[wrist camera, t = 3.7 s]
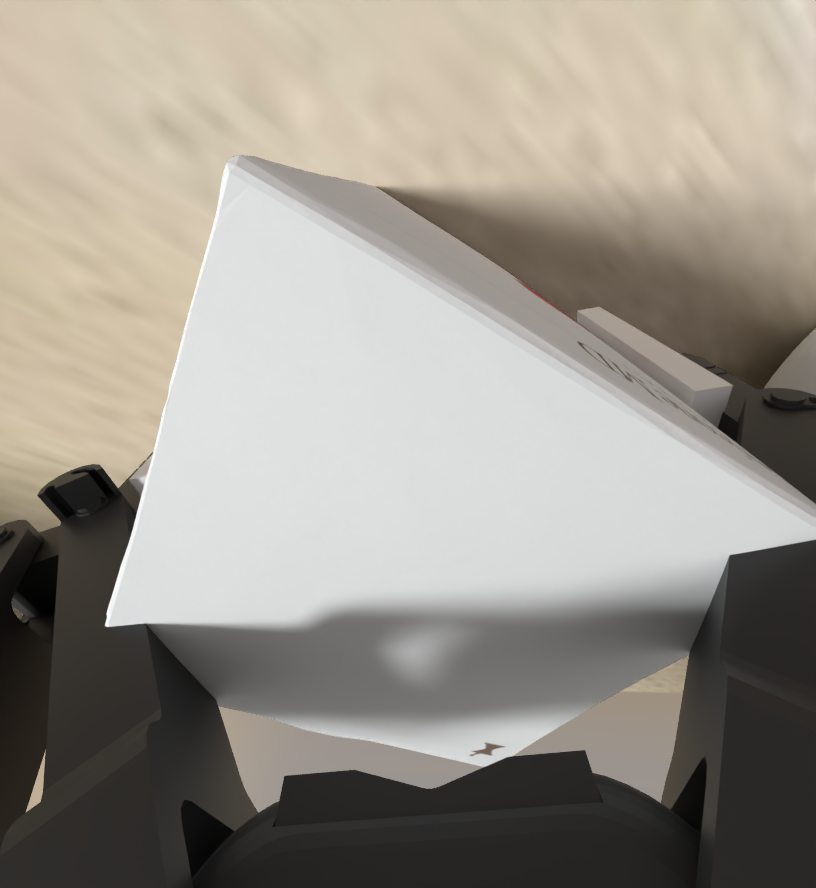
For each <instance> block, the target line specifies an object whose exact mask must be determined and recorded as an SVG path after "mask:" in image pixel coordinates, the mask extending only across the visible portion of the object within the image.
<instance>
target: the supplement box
mask: <svg viewBox="0 0 816 888" xmlns="http://www.w3.org/2000/svg"><path fill="white" fill-rule="evenodd" d="M810 540H816V504H815V503H814V502H812V501H811V500H810V499H808V498H807V497H806V496H805V495H803V494H802V493H801V492H799V491H798V490H797V489H796V488H794V487H793V486H792V485H790V484H789V483H788V482H787V481H786V480H784V479H783V478H782V477H780V476H779V475H778V474H776V473H775V472H774V471H772V470H771V469H770V468H768V467H767V466H766V465H765V464H763V463H762V462H761V461H759V460H758V459H757V458H755V457H754V456H753V455H752V454H750V453H749V452H748V451H746V450H745V449H744V448H742V447H741V446H740V445H739V444H737V443H736V442H735V441H733V440H732V439H731V438H729V437H728V436H727V435H726V434H724V433H723V432H722V431H720V430H719V429H718V428H716V427H715V426H714V425H713V424H711V423H710V422H709V421H707V420H706V419H705V418H703V417H702V416H701V415H700V414H698V413H697V412H696V411H694V410H693V409H692V408H690V407H689V406H688V405H687V404H685V403H684V402H683V401H681V400H680V399H679V398H677V397H676V396H675V395H673V394H672V393H671V392H669V391H668V390H667V389H665V388H664V387H663V386H661V385H660V384H659V383H657V382H656V381H655V380H653V379H652V378H651V377H649V376H648V375H647V374H645V373H644V372H643V371H641V370H640V369H639V368H638V367H636V366H635V365H634V364H632V363H631V362H630V361H628V360H627V359H626V358H624V357H623V356H622V355H620V354H619V353H618V352H616V351H615V350H614V349H612V348H611V347H610V346H608V345H607V344H606V343H604V342H603V341H602V340H601V339H599V338H598V337H597V336H595V335H594V334H593V333H591V332H590V331H589V330H587V329H586V328H585V327H583V326H582V325H580V324H579V323H578V322H576V321H575V320H574V319H572V318H571V317H569V316H568V315H567V314H565V313H564V312H562V311H561V310H560V309H558V308H557V307H556V306H554V305H553V304H552V303H550V302H549V301H548V300H546V299H545V298H543V297H542V296H541V295H539V294H538V293H537V292H535V291H534V290H532V289H531V288H530V287H528V286H527V285H525V284H524V283H523V282H521V281H520V280H518V279H517V278H515V277H514V276H513V275H511V274H510V273H508V272H507V271H505V270H504V269H502V268H501V267H499V266H498V265H496V264H495V263H493V262H492V261H490V260H489V259H487V258H486V257H484V256H483V255H481V254H480V253H478V252H477V251H475V250H474V249H472V248H470V247H469V246H467V245H466V244H464V243H463V242H461V241H460V240H458V239H456V238H455V237H453V236H452V235H450V234H449V233H447V232H445V231H444V230H442V229H441V228H439V227H437V226H436V225H434V224H433V223H431V222H429V221H428V220H426V219H425V218H423V217H421V216H420V215H418V214H417V213H415V212H414V211H412V210H411V209H409V208H408V207H406V206H405V205H403V204H401V203H400V202H398V201H397V200H395V199H394V198H392V197H391V196H389V195H388V194H386V193H385V192H383V191H382V190H380V189H378V188H377V187H374V186H371V185H367V184H363V183H360V182H356V181H350V180H344V179H340V178H336V177H330V176H324V175H320V174H316V173H312V172H308V171H304V170H300V169H296V168H293V167H289V166H285V165H282V164H278V163H274V162H271V161H267V160H264V159H261V158H258V157H255V156H244V155H238V156H233V157H232V158H231V159H230V160H229V161H228V162H227V163H226V167H225V170H224V173H223V177H222V183H221V189H220V195H219V201H218V207H217V213H216V217H215V220H214V224H213V227H212V231H211V235H210V238H209V242H208V245H207V249H206V253H205V256H204V260H203V264H202V267H201V271H200V274H199V278H198V282H197V285H196V289H195V292H194V296H193V299H192V303H191V307H190V310H189V314H188V317H187V321H186V324H185V328H184V331H183V335H182V339H181V343H180V348H179V352H178V356H177V360H176V364H175V368H174V371H173V375H172V378H171V382H170V385H169V391H168V398H167V401H166V404H165V407H164V410H163V413H162V418H161V422H160V427H159V431H158V435H157V439H156V444H155V448H154V452H153V456H152V460H151V463H150V467H149V470H148V474H147V477H146V481H145V484H144V488H143V491H142V495H141V499H140V503H139V507H138V511H137V515H136V519H135V523H134V526H133V530H132V534H131V537H130V540H129V544H128V547H127V549H126V552H125V555H124V558H123V561H122V564H121V567H120V570H119V574H118V577H117V580H116V584H115V587H114V591H113V594H112V597H111V600H110V603H109V607H108V610H107V614H106V615H107V619H106V623H105V626H106V627H113V626H123V625H134V624H144V623H146V625H147V626H148V627H149V628H150V629H151V630H152V631H153V632H154V633H155V635H156V636H157V637H158V638H159V639H160V640H161V641H162V642H163V643H164V645H165V646H166V647H167V648H168V649H169V650H170V651H171V652H172V653H173V655H174V656H175V657H176V658H177V659H178V660H179V661H180V662H181V663H182V664H183V665H184V666H185V667H186V669H187V670H188V671H189V672H190V673H191V674H192V675H193V676H194V677H195V678H196V679H197V680H198V681H199V682H200V683H201V685H202V686H203V687H204V688H205V689H206V690H207V691H208V692H209V693H210V694H211V695H212V696H213V697H214V698H215V699H216V701H217V704H218V706H220V707H225V708H229V709H234V710H239V711H243V712H247V713H251V714H256V715H260V716H263V717H268V718H271V719H274V720H277V721H281V722H283V723H286V724H289V725H292V726H295V727H298V728H301V729H304V730H308V731H313V732H318V733H323V734H328V735H332V736H337V737H343V738H352V739H361V740H369V741H373V742H378V743H382V744H387V745H391V746H395V747H400V748H404V749H409V750H413V751H417V752H422V753H426V754H430V755H434V756H439V757H443V758H448V759H452V760H457V761H461V762H466V763H470V764H474V765H479V766H483V767H486V766H488V765H490V764H493V763H495V762H497V761H500V760H502V759H504V758H506V757H512V756H513V755H515V754H516V753H518V752H519V751H521V750H522V749H524V748H525V747H527V746H528V745H530V744H532V743H533V742H535V741H536V740H538V739H540V738H541V737H543V736H545V735H546V734H548V733H550V732H551V731H553V730H555V729H556V728H558V727H560V726H561V725H563V724H565V723H567V722H568V721H570V720H572V719H573V718H575V717H577V716H578V715H580V714H582V713H583V712H585V711H587V710H589V709H590V708H592V707H593V706H595V705H597V704H599V703H601V702H602V701H604V700H606V699H607V698H609V697H611V696H613V695H615V694H616V693H618V692H620V691H622V690H623V689H625V688H627V687H629V686H630V685H632V684H634V683H636V682H638V681H639V680H641V679H643V678H645V677H647V676H649V675H651V674H653V673H655V672H657V671H659V670H661V669H663V668H665V667H666V666H668V665H670V664H672V663H674V662H676V661H678V660H680V659H682V658H684V657H686V656H688V655H689V653H690V650H691V648H692V646H693V643H694V641H695V639H696V636H697V634H698V632H699V629H700V627H701V625H702V622H703V620H704V617H705V615H706V613H707V610H708V608H709V606H710V603H711V601H712V598H713V596H714V593H715V591H716V588H717V586H718V583H719V581H720V578H721V576H722V573H723V571H724V568H725V566H726V563H727V561H728V558H729V556H730V555H733V554H739V553H745V552H751V551H756V550H762V549H767V548H773V547H778V546H784V545H789V544H794V543H800V542H805V541H810Z"/></svg>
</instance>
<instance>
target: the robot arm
mask: <svg viewBox="0 0 816 888" xmlns="http://www.w3.org/2000/svg"><path fill="white" fill-rule="evenodd" d="M577 322H578V323H579V324H580V325H582V326H583V327H585V328H586V329H587V330H589V331H590V332H591V333H593V334H594V335H595V336H597V337H598V338H599V339H601V340H602V341H603V342H604V343H606V344H607V345H608V346H610V347H611V348H612V349H614V350H615V351H616V352H618V353H619V354H620V355H622V356H623V357H624V358H626V359H627V360H628V361H630V362H631V363H632V364H634V365H635V366H636V367H638V368H639V369H640V370H641V371H643V372H644V373H645V374H647V375H648V376H649V377H651V378H652V379H653V380H655V381H656V382H657V383H659V384H660V385H661V386H663V387H664V388H665V389H667V390H668V391H669V392H671V393H672V394H673V395H675V396H676V397H677V398H679V399H680V400H681V401H683V402H684V403H685V404H687V405H688V406H689V407H690V408H692V409H693V410H694V411H696V412H697V413H698V414H700V415H701V416H702V417H703V418H705V419H706V420H707V421H709V422H710V423H711V424H713V425H714V426H715V427H716V428H718V429H719V430H720V431H722V432H723V433H724V434H726V435H727V436H728V437H729V438H731V439H732V440H733V441H735V442H736V443H737V444H739V445H740V446H741V447H742V448H744V449H745V450H746V451H748V452H749V453H750V454H752V455H753V456H754V457H755V458H757V459H758V460H759V461H761V462H762V463H763V464H765V465H766V466H767V467H768V468H770V469H771V470H772V471H774V472H775V473H776V474H778V475H779V476H780V477H782V478H783V479H784V480H786V481H787V482H788V483H789V484H790V485H792V486H793V487H794V488H796V489H797V490H798V491H799V492H801V493H802V494H803V495H805V496H806V497H807V498H808V499H810V500H811V501H812V502H814V503H815V504H816V395H814V394H810V393H807V392H804V391H800V390H793V389H787V388H765V389H756V388H754V387H752V386H751V385H749V384H747V383H745V382H743V381H742V380H740V379H738V378H736V377H734V376H733V375H731V374H727V372H726V371H724V370H722V369H720V368H718V367H717V368H716V367H715V365H713V364H711V363H709V362H708V361H706V360H704V359H702V358H699V357H695V356H691V355H688V354H684V353H682V354H679V353H677V352H676V351H674V350H672V349H671V348H669V347H667V346H665V345H664V344H662V343H660V342H659V341H657V340H655V339H654V338H652V337H650V336H648V335H647V334H645V333H643V332H642V331H640V330H638V329H637V328H635V327H633V326H631V325H630V324H628V323H626V322H625V321H623V320H621V319H620V318H618V317H616V316H614V315H613V314H611V313H609V312H608V311H606V310H604V309H603V308H601V307H594V308H589V309H583V310H577ZM153 452H154V451H153ZM153 452H152V454H151V455H150V456H149V457H148V458H147V460H145V461H144V462H143V463H142V464H141V465H140V466H139V469H136V470H135V471H134V473H133V474H132V475H131V476H130V477H129V478H128V479H127V480H126V481H125V482H124V483H123V484H122V485H121V486H120V487H119V488H117V487H116V485H115V484H114V483H113V481H112V480H111V479H110V477H109V476H108V475H107V473H106V472H105V471H104V469H103V468H102V467H101V466H100V465H95V464H92V465H87V466H82V467H79V468H76V469H74V470H71V471H69V472H67V473H65V474H63V475H60V476H59V477H57V478H55V479H54V480H52V481H51V482H49V483H48V484H47V485H46V486H44V487H43V488H42V489H41V490H40V492H39V494H38V495H37V496H38V497H39V498H40V499H41V500H42V501H43V502H44V503H45V504H46V506H47V507H48V508H49V509H50V510H51V511H52V512H53V513H54V514H55V515H56V517H57V518H58V519H59V520H60V521H61V526H58V527H55V528H52V529H49V530H46V531H43V532H40V533H39V532H38V531H37V530H36V529H35V528H34V527H33V526H32V525H31V524H30V523H29V522H27V521H26V520H17V521H13V522H10V523H6V524H4V525H2V526H0V888H816V540H810V541H805V542H800V543H794V544H789V545H784V546H778V547H773V548H767V549H762V550H756V551H751V552H745V553H739V554H733V555H730V556H729V558H728V561H727V563H726V566H725V568H724V571H723V573H722V576H721V578H720V581H719V583H718V586H717V588H716V591H715V593H714V596H713V598H712V601H711V603H710V606H709V608H708V610H707V613H706V615H705V617H704V620H703V622H702V625H701V627H700V629H699V632H698V634H697V636H696V639H695V641H694V643H693V646H692V648H691V650H690V653H689V660H688V666H687V672H686V678H685V685H684V691H683V697H682V704H681V710H680V716H679V722H678V729H677V735H676V741H675V747H674V753H673V756H672V761H671V764H670V768H669V771H668V775H667V778H666V782H665V787H664V791H663V795H662V800H661V803H660V802H658V801H656V800H655V799H653V798H652V797H650V796H649V795H647V794H645V793H643V792H640V791H639V790H637V789H635V788H633V787H631V786H629V785H627V784H625V783H622V782H619V781H617V780H614V779H611V778H609V777H606V776H603V775H598V774H595V773H592V770H591V767H590V764H589V761H588V758H587V755H586V752H585V750H583V751H571V752H560V753H548V754H537V755H524V756H513V757H506V758H504V759H502V760H500V761H497V762H495V763H493V764H490V765H488V766H486V767H484V768H481V769H479V770H477V771H474V772H472V773H470V774H468V775H465V776H463V777H461V778H459V779H456V780H454V781H452V782H449V783H447V784H445V785H443V786H440V787H437V788H433V789H425V788H420V787H417V786H413V785H409V784H405V783H401V782H398V781H394V780H390V779H386V778H383V777H379V776H375V775H371V774H367V773H363V772H360V771H356V770H349V771H337V772H327V773H314V774H302V775H291V776H285V777H284V781H283V786H282V792H281V796H280V801H279V802H276V803H274V804H272V805H271V806H269V807H267V808H266V809H264V810H262V811H261V812H259V813H258V812H257V810H256V808H255V807H254V805H253V803H252V802H251V800H250V798H249V797H248V795H247V793H246V791H245V788H244V786H243V783H242V781H241V778H240V775H239V772H238V768H237V765H236V762H235V758H234V755H233V752H232V749H231V746H230V742H229V739H228V736H227V733H226V730H225V727H224V723H223V720H222V717H221V714H220V710H219V707H218V704H217V701H216V699H215V698H214V697H213V696H212V695H211V694H210V693H209V692H208V691H207V690H206V689H205V688H204V687H203V686H202V685H201V683H200V682H199V681H198V680H197V679H196V678H195V677H194V676H193V675H192V674H191V673H190V672H189V671H188V670H187V669H186V667H185V666H184V665H183V664H182V663H181V662H180V661H179V660H178V659H177V658H176V657H175V656H174V655H173V653H172V652H171V651H170V650H169V649H168V648H167V647H166V646H165V645H164V643H163V642H162V641H161V640H160V639H159V638H158V637H157V636H156V635H155V633H154V632H153V631H152V630H151V629H150V628H149V627H148V626H147V625H146V623H144V624H134V625H123V626H113V627H106V626H105V623H106V619H107V615H106V614H107V610H108V607H109V603H110V600H111V597H112V594H113V591H114V587H115V584H116V580H117V577H118V574H119V570H120V567H121V564H122V561H123V558H124V555H125V552H126V549H127V547H128V544H129V540H130V537H131V534H132V530H133V526H134V523H135V519H136V515H137V511H138V507H139V503H140V499H141V495H142V491H143V488H144V484H145V481H146V477H147V474H148V470H149V467H150V463H151V460H152V456H153ZM12 605H13V606H14V607H16V608H17V609H18V610H19V611H20V612H22V613H23V614H24V615H23V617H22V619H21V620H20V619H18V617H17V616H16V615H15V613H14V612H13V609H12ZM45 749H46V756H45V771H44V787H43V795H42V799H41V802H40V803H39V804H37V805H36V806H34V807H33V808H32V809H31V810H29V811H28V812H26V809H27V806H28V803H29V800H30V797H31V793H32V790H33V787H34V784H35V780H36V778H37V775H38V771H39V768H40V765H41V762H42V759H43V756H44V753H45ZM25 812H26V813H25Z"/></svg>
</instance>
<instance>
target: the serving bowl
mask: <svg viewBox="0 0 816 888" xmlns="http://www.w3.org/2000/svg"><path fill="white" fill-rule="evenodd" d="M765 388H787V389H793V390H800V391H804V392H807V393H810V394H814V395H816V328H815V329H814V330H813V331H812V332H811V333H810V334H809V335H808V336H807V337H806V338H805V339H804V340H803V341H802V342H801V343H800V344H799V345H798V346H797V347H796V348H795V349H794V351H793V352H792V353H791V354H790V355H789V356H788V357H787V358H786V360H785V361H784V362H783V363H782V365H781V366H780V367H779V368H778V370H777V371H776V372H775V373H774V375H773V376H772V377H771V379H770V380H769V381H768V383H767V384H766V386H765V387H764V389H765Z"/></svg>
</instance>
